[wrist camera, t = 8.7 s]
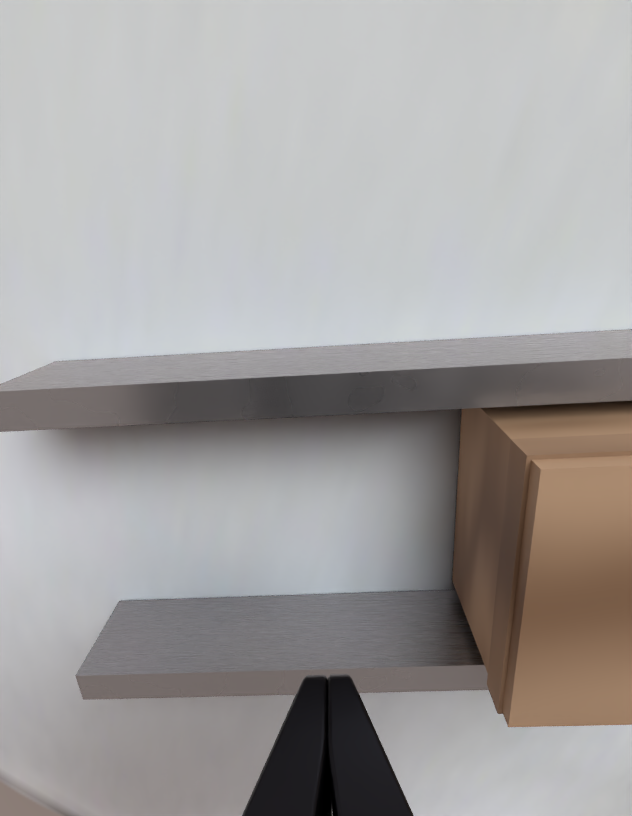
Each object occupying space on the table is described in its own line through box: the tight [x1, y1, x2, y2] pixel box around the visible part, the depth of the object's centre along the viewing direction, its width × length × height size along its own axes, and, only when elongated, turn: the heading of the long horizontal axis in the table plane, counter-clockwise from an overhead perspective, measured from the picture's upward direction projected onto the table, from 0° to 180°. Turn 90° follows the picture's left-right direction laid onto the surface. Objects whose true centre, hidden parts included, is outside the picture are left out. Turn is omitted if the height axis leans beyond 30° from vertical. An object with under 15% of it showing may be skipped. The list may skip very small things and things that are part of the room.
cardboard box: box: [452, 400, 632, 727], centre depth 12 cm, size 7×6×5 cm
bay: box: [0, 329, 632, 699], centre depth 13 cm, size 10×20×3 cm, turn 93°
